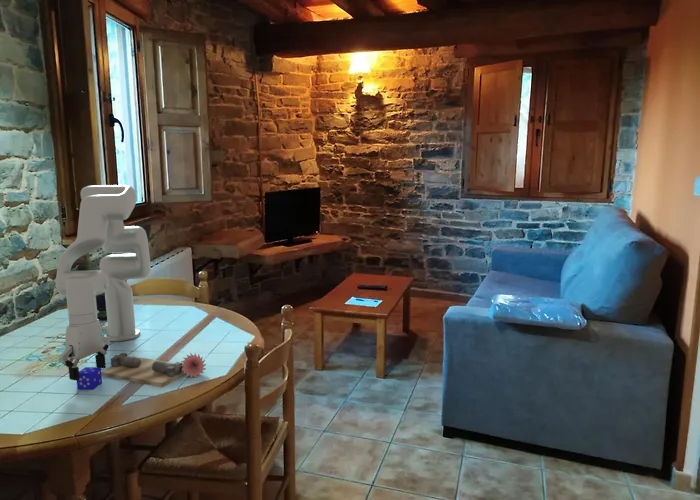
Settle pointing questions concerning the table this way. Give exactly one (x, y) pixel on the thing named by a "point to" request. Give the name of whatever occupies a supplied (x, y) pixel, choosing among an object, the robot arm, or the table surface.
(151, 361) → the shaft bed
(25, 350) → the table surface
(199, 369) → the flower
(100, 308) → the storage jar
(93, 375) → the die
